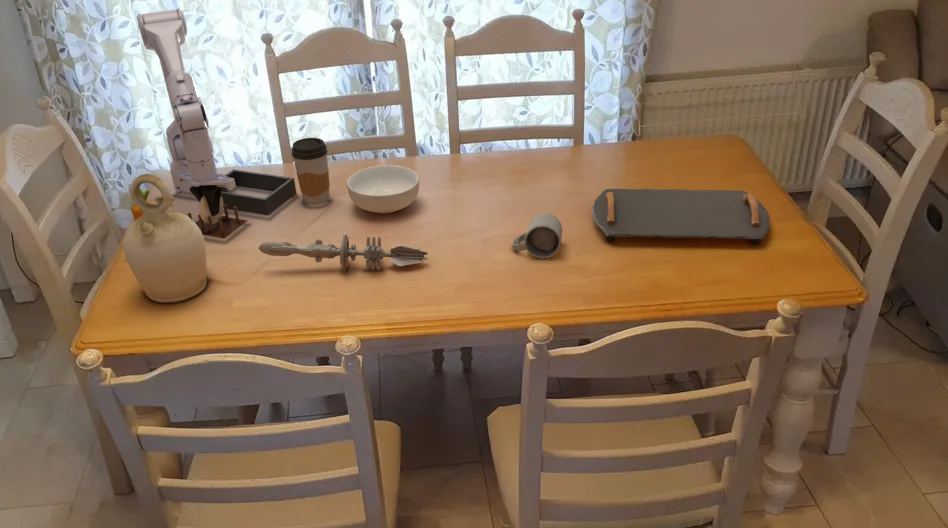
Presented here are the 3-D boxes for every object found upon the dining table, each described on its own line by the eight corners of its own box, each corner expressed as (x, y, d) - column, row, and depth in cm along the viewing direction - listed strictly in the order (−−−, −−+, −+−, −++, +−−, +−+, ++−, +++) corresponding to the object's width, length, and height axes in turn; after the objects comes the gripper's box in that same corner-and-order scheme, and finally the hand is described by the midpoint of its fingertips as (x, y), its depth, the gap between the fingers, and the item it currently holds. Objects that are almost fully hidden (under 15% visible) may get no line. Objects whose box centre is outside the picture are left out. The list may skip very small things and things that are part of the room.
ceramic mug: (562, 241, 185) (563, 209, 181) (560, 259, 179) (560, 227, 174) (514, 239, 187) (513, 208, 182) (510, 258, 180) (509, 225, 176)
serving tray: (592, 246, 183) (594, 220, 179) (590, 198, 202) (592, 174, 198) (776, 249, 179) (782, 223, 176) (757, 201, 198) (761, 176, 194)
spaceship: (262, 226, 178) (254, 230, 171) (428, 235, 181) (428, 239, 173) (262, 264, 180) (254, 269, 172) (426, 272, 182) (426, 277, 175)
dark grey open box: (207, 209, 204) (202, 190, 201) (237, 188, 214) (233, 169, 211) (269, 219, 199) (265, 199, 196) (297, 197, 208) (294, 178, 205)
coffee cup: (337, 195, 208) (330, 136, 200) (330, 210, 202) (321, 150, 193) (304, 194, 209) (295, 136, 201) (295, 209, 202) (285, 150, 194)
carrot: (171, 246, 189) (154, 184, 181) (155, 256, 186) (138, 194, 177) (154, 242, 191) (136, 181, 183) (138, 252, 188) (120, 190, 179)
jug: (170, 263, 183) (139, 155, 169) (229, 275, 178) (203, 164, 164) (121, 299, 172) (84, 186, 157) (183, 313, 166) (151, 197, 152)
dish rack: (184, 235, 193) (179, 215, 190) (208, 218, 200) (203, 198, 197) (225, 243, 190) (220, 222, 187) (248, 225, 197) (244, 204, 194)
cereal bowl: (337, 216, 199) (333, 188, 195) (370, 187, 211) (367, 161, 207) (402, 227, 193) (399, 199, 189) (432, 196, 206) (430, 169, 202)
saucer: (203, 229, 191) (196, 198, 187) (223, 214, 197) (216, 184, 192) (206, 230, 191) (199, 199, 186) (226, 215, 197) (219, 185, 192)
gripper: (161, 160, 184) (175, 216, 192) (216, 168, 179) (229, 226, 187) (181, 148, 189) (194, 203, 197) (235, 156, 185) (247, 212, 193)
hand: (213, 213), depth 193 cm, fingers closed on saucer, 1 cm apart
